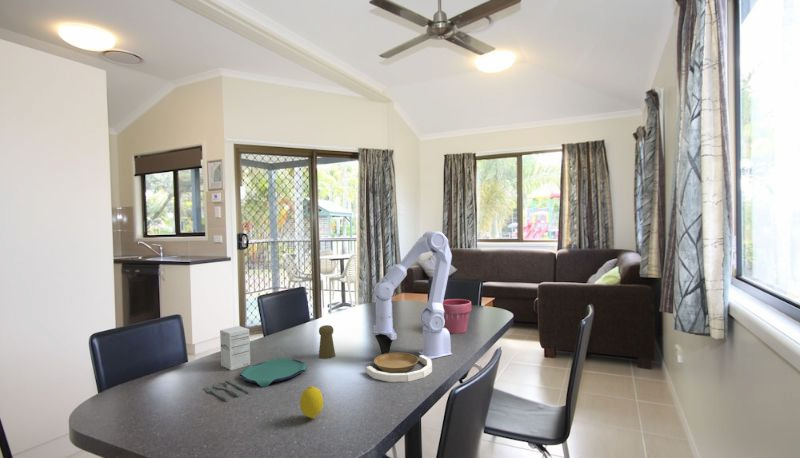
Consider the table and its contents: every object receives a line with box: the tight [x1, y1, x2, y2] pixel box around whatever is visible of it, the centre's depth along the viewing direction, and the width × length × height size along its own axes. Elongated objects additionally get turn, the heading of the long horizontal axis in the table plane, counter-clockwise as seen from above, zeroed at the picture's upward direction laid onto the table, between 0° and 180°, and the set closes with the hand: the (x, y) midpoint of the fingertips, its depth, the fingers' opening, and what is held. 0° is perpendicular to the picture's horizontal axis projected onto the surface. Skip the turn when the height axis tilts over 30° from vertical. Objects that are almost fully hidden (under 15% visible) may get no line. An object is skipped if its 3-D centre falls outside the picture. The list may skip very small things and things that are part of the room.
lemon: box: [299, 385, 324, 419], centre depth 100 cm, size 6×6×8 cm
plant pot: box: [443, 298, 472, 335], centre depth 175 cm, size 14×14×13 cm
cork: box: [318, 325, 336, 360], centre depth 147 cm, size 6×6×11 cm
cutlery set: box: [202, 357, 308, 402], centre depth 127 cm, size 20×30×2 cm, turn 138°
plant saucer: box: [373, 352, 419, 373], centre depth 134 cm, size 15×15×3 cm
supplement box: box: [219, 325, 251, 371], centre depth 140 cm, size 7×7×13 cm
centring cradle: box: [365, 354, 433, 383], centre depth 128 cm, size 21×13×2 cm, turn 118°
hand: (385, 355), depth 141 cm, fingers closed
